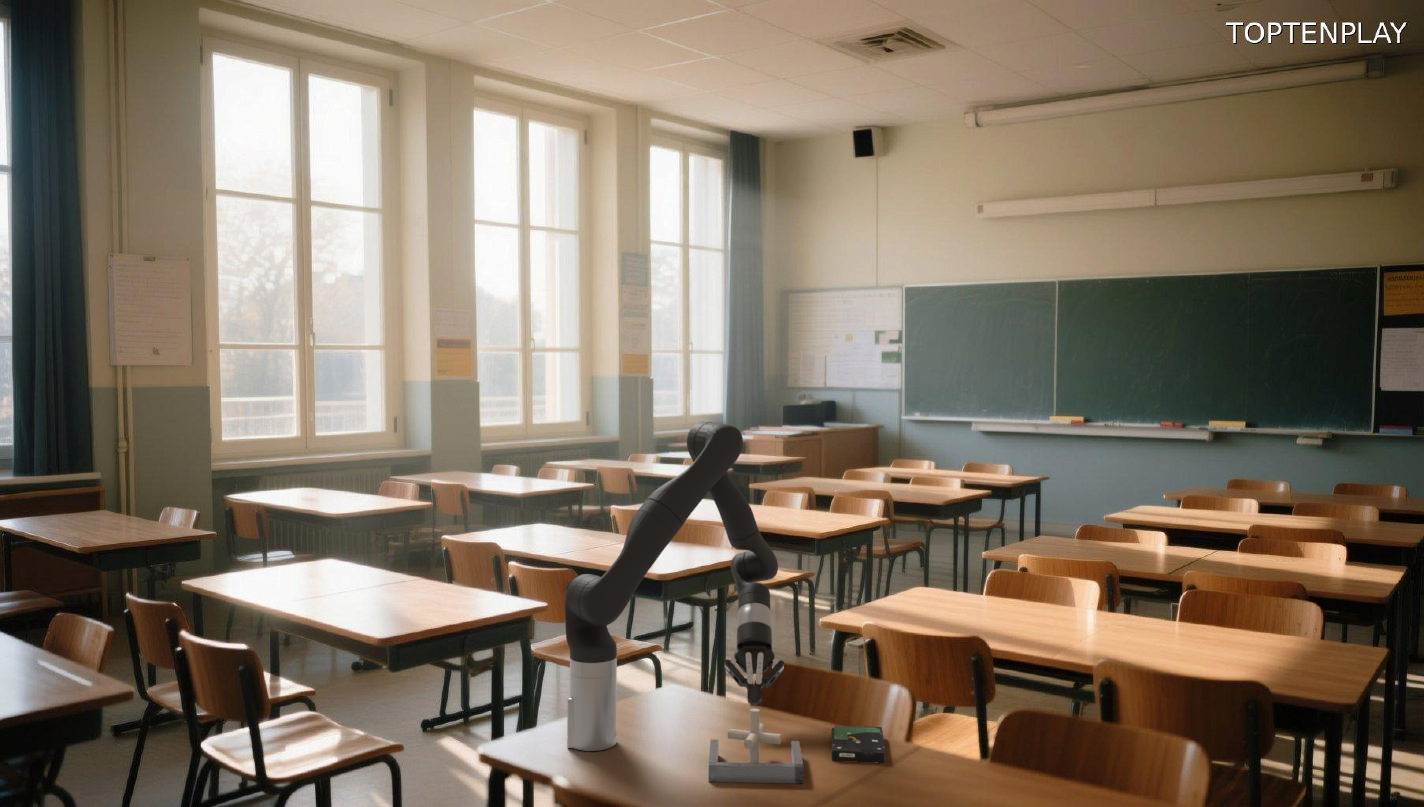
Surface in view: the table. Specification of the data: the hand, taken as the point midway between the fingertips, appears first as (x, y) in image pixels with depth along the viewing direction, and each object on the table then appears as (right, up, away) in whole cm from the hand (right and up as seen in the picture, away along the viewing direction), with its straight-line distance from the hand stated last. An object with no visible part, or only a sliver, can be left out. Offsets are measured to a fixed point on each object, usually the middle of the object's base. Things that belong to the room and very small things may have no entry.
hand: (754, 704), depth 205 cm
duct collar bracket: (-1, -7, -17) cm, 18 cm away
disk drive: (+20, -8, -6) cm, 22 cm away
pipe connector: (-1, -7, -14) cm, 16 cm away
